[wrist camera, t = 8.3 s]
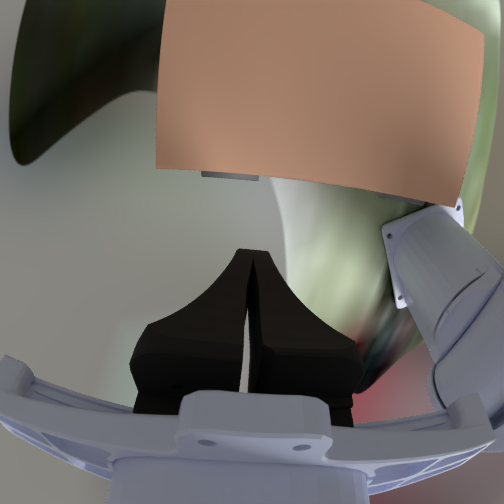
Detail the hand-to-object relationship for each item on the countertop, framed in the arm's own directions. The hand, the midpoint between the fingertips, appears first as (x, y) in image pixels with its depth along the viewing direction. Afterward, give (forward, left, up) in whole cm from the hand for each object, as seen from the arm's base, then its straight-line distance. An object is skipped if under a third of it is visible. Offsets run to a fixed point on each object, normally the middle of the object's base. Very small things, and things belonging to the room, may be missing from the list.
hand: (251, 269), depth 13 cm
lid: (+6, -8, -5) cm, 11 cm away
